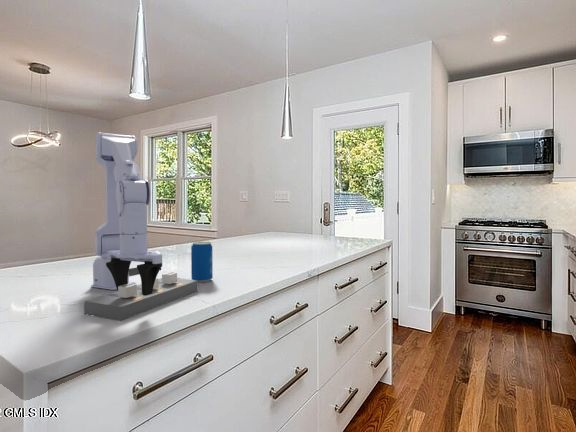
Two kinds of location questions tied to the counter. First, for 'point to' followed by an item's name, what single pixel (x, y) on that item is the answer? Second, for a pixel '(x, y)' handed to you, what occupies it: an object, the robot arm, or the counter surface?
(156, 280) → the switch
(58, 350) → the counter surface
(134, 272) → the phone
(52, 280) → the counter surface
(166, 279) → the switch
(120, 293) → the switch
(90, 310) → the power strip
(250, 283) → the counter surface
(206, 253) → the beverage can
